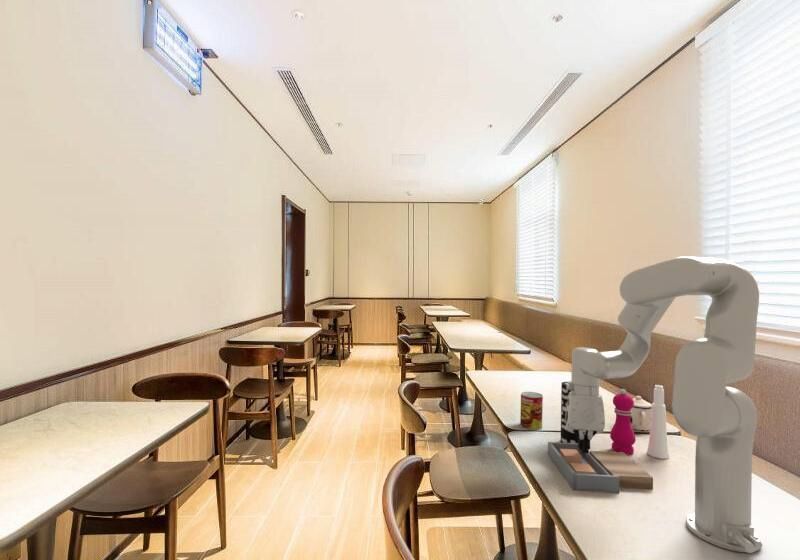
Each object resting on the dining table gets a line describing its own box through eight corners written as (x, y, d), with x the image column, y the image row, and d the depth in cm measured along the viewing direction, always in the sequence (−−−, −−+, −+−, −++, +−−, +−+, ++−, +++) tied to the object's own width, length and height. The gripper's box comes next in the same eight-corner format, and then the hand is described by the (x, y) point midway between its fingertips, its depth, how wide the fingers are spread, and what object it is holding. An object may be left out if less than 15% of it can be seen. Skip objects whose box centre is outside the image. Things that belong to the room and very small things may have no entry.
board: (653, 488, 106) (653, 477, 106) (613, 486, 107) (614, 475, 107) (623, 462, 122) (623, 452, 122) (589, 460, 123) (589, 450, 123)
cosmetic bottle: (654, 449, 132) (655, 382, 133) (673, 457, 127) (674, 387, 127) (642, 452, 130) (643, 384, 130) (661, 460, 124) (662, 388, 125)
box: (619, 492, 104) (619, 477, 104) (573, 490, 105) (573, 474, 105) (585, 456, 126) (585, 443, 126) (547, 454, 127) (548, 441, 127)
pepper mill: (638, 456, 127) (639, 392, 127) (613, 454, 128) (614, 391, 128) (630, 447, 134) (631, 387, 134) (607, 445, 135) (608, 385, 135)
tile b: (564, 455, 119) (564, 464, 119) (582, 456, 118) (581, 464, 118) (559, 448, 124) (559, 456, 124) (576, 449, 123) (575, 457, 123)
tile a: (576, 470, 109) (575, 480, 109) (595, 472, 108) (595, 481, 108) (570, 462, 114) (569, 471, 114) (588, 463, 113) (588, 472, 113)
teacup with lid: (621, 421, 160) (622, 392, 160) (647, 424, 157) (648, 394, 157) (630, 432, 148) (630, 400, 148) (658, 435, 146) (658, 403, 146)
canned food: (516, 423, 155) (516, 392, 155) (533, 421, 157) (534, 391, 157) (528, 430, 147) (529, 397, 148) (546, 428, 150) (547, 396, 150)
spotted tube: (559, 445, 134) (560, 385, 134) (561, 437, 141) (562, 380, 142) (586, 451, 130) (587, 388, 130) (588, 442, 138) (588, 383, 138)
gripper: (563, 392, 117) (562, 455, 117) (616, 394, 116) (615, 458, 116) (555, 385, 125) (554, 445, 124) (605, 387, 124) (604, 447, 123)
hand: (583, 451), depth 120 cm, fingers closed
